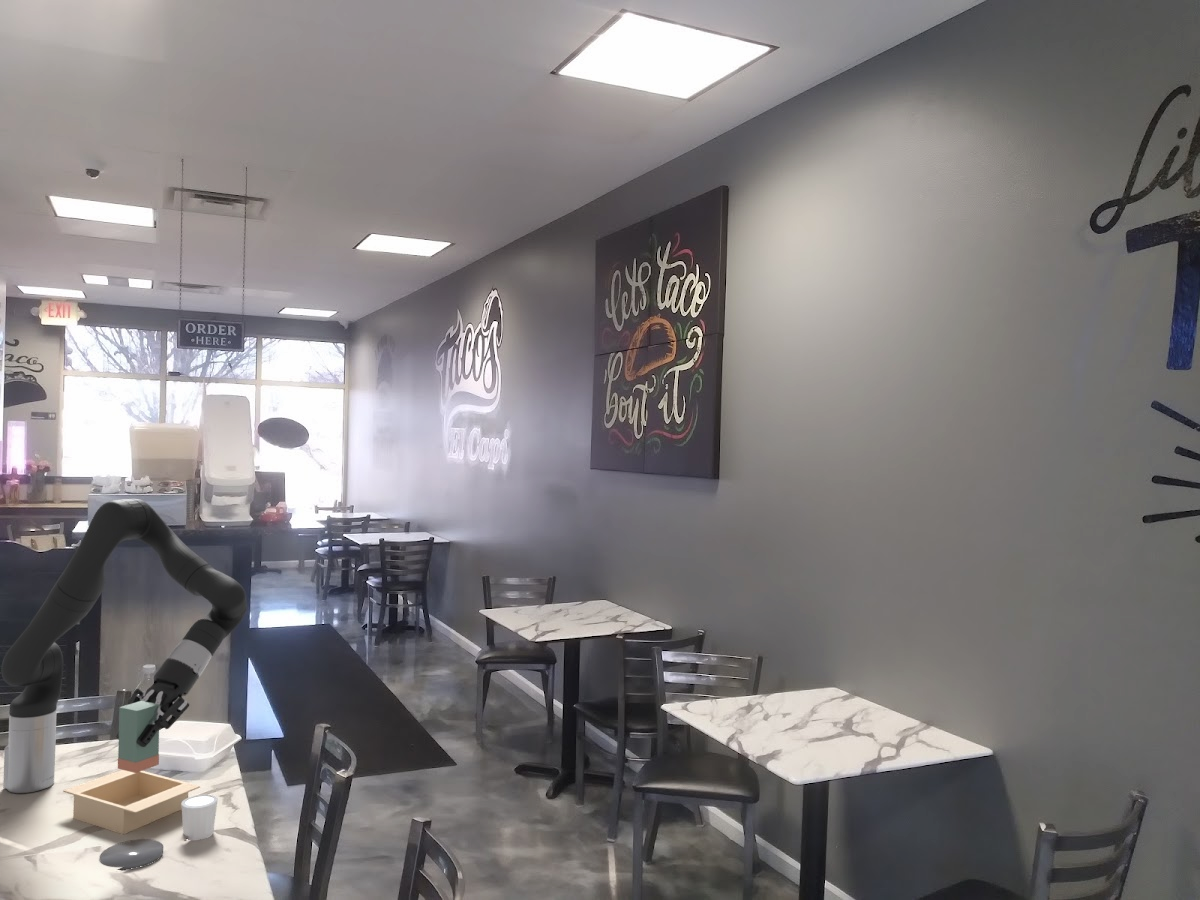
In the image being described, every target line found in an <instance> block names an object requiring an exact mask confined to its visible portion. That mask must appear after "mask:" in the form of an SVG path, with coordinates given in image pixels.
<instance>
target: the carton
mask: <svg viewBox="0 0 1200 900" xmlns="http://www.w3.org/2000/svg"><path fill="white" fill-rule="evenodd" d="M199 788H201V786H200V785H197V784H193V783H190V782H187V781H182V780H179V779H176V778H171V777H167V776H164V775H160V774H156V773H153V772H149V771H145V770H143V771H140V772H137V773H133V772H129V771H125V770H121V769H119V770H118V771H115V772H112V773H108V774H106V775H103V776H100V777H97V778H96V779H92V780H89V781H86V782H84V783H81V784H78V785H77V784H76V785H75V786H72V787H69V788H66V789H63V791H62V792H63V793H66V794H68V795H73V810H72V811H73V812H72V813H73V814H72V815H73V816H72V819H73V820H74V819H75V820H77V821H80V822H83V823H86V824H90V825H93V826H96V827H99V828H102V829H104V830H109V831H111V832H115V833H118V834H121V835H125V834H127V833H130V832H132V831H135V830H136V829H139V828H141V827H144V826H147V825H149V824H151V823H153V822H156V821H158V820H160V819H162V818H165V817H168V816H170V815H172V814H175V813H176V812H179V811H182V807H181V803H182V801H184V800H185V799H187V798H189V793H190V792H192V791H195V790H197V789H199Z"/></svg>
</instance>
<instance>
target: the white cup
mask: <svg viewBox="0 0 1200 900" xmlns="http://www.w3.org/2000/svg"><path fill="white" fill-rule="evenodd" d="M181 807H182V810H181V819H182V821H181V822H182V833H183V835H184V836H186V837H185V838H186V839H185V840H187V839H188V840H187V841H200V839H201V840H205V839H207V838H209V837H211V836H212V835H213V833H214V829H215V823H216V822H215V821H216V815H217V814H216V813H217V807H218V797H217V796H216V795H214V794H213V795H212V794H198V795H193V796H190V797H189V796H188V798H187V799H185V800H184V801H182V803H181Z"/></svg>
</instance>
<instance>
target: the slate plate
mask: <svg viewBox="0 0 1200 900" xmlns="http://www.w3.org/2000/svg"><path fill="white" fill-rule="evenodd" d="M162 854H164V844H163V843H162V842H161V841H159V840H155V839H151V838H150V839H148V838H147V839H146V838H139V839H132V840H131V839H130V840H127V841H123V842H119V843H116V844H113V845H112V846H109V847H107V848H106V849H104V850H103V851H102V852H101V853H100V854H99V861H100V863H101V864H103V865H105V866H109V867H119V868H118V869H117V870H121V871H127V870H126V869H131V868H136V867H140V866H143V867H145V866H144V865H146V866H148V864H149V865H151V864H153V863H155V862H156V861H158V860H159V859H161V857H162V856H163V855H162ZM158 858H159V859H158ZM157 859H158V860H157ZM154 861H155V862H154ZM152 862H153V863H152ZM150 863H151V864H150ZM140 868H141V867H140ZM136 869H137V868H136ZM131 870H132V869H131Z"/></svg>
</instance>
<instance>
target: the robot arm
mask: <svg viewBox="0 0 1200 900" xmlns="http://www.w3.org/2000/svg"><path fill="white" fill-rule="evenodd" d="M135 539H136V540H139V541H141V542H143V543H144V544H146V545H148V546H149V547H150V548H152V549H153V550H154V551H155V552H156V554H157V555H158V556H159V559H160V561H161V564H162V565H163V568H164V569H165V571H166V573H167V574H168V575H169V576H170V578H171V579H173V580H174V581H175V582H176V583H177V584H178V585H180V586H181V587H182V588H183V589H184V590H186V591H187V592H189V593H190V594H191V595H193V596H194V597H195V596H196V597H202V598H204V599H206V600H207V601H208V602H209V603H210V604H211V610H210V611H209V612H208V614H207V615H206V616H205V617H204V618H200V619H198V620H197V621H195V622H194V623H193V624H192V626H191V627H190V628H189V629H188V631H187V632H186V633H185V635H184V636H183V638H182V639H181V641H179V643H178V644H177V645H176V646H175V647H174V648H173V649H172V651H170V653H169V655H168V656H167V658H166V659H165V660H164V662H163V663H162V664H161V666H160V667H159V669H158V670H157V671H156V673H155V674H154V676H153V684H152V685H150V687H148V688H147V689H146V690H141V689H140V688H135V690H134V691H133V693H132V694H131V697H130V699H129V700H128V702H127V703H126V705H129V704H132V703H136V702H139V701H145V702H151V703H155V704H159V705H158V706H157V708H156V709H155V711H154V715H153V717H152V718H151V720H150V725H147V726H146V728H145V729H144V730H143V732H142V733H141V735H140V736H139V737H138V739H137V741H136V743H137V744H139V745H140V746H141V747H146V745H147V744H148V743H149V742H150V741H151V739H152V738H153V737H154V735H155V734H156V732H157V731H159V732H160V731H161V730H162V729H165V730H168V729H170V728H171V727H172V726H173V725H174V724H175V723H176V722H177V720H178V719H179V718H180V717H181V716H182V715H183V714H184V713H185V711H186V710H187V709H188V708H189V707H190V703H189V702H188V701H187V700H186V699H184V698H183V697H186V696H187V695H188V694H189V693H190V691H191V690H192V688H193V687H194V686H195V684H196V682H197V681H198V680H199V678H200V677H201V676H202V674H203V673H204V671H205V669H206V668H207V666H208V665H209V662H210V660H211V659H212V657H213V656H214V655H215V653H216V652H217V650H218V649H219V647H220V646H221V644H222V642H223V641H224V639H226V638H227V637H228V636H229V635H230V634H231V633H232V632H233V630H234V629H236V628H237V627H238V626H239V624H240V623H241V622H242V620H243V619H244V617H245V615H246V613H247V611H248V601H247V593H246V591H245V588H244V587H243V586H242V584H240V583H239V582H238V581H237V580H236V579H234V578H233V577H231V576H229V575H227V574H225V573H224V572H222V571H219V570H217V569H215V568H214V567H213V566H212V565H210V564H209V562H207V561H206V560H205V559H203V558H202V557H201V556H199V555H198V554H196V552H194V551H193V550H192V549H191V548H190V547H189V546H188V545H186V544H185V543H184V542H183V541H182V539H180V538H179V536H178V535H177V534H176V533H175V532H174V531H173V530H172V528H171V527H170V526H169V525H167V523H166V521H164V520H163V519H162V517H161V516H160V515H159V514H158V512H157V511H156V510H155V509H154V507H151V506H150V503H147V502H146V501H145V500H143V499H140V498H122V499H113V500H110V501H107V502H104V503H103V504H102V505H100V506H99V508H98V509H97V510H96V512H95V513H94V515H93V517H92V519H91V521H90V523H89V525H88V527H87V530H86V531H85V533H84V536H83V538H82V540H81V542H80V544H79V546H78V547H77V548H76V551H75V552H74V554H73V556H72V557H71V559H70V561H69V562H68V563H67V566H65V569H64V570H63V572H62V573H61V575H59V577H58V579H56V580H57V581H55V583H54V586H53V587H52V588H51V590H50V592H49V593H48V595H47V597H46V598H45V600H44V602H43V603H42V605H41V606H40V608H39V610H38V611H37V612H36V614H35V615H34V616H33V617H32V619H31V621H30V623H29V624H28V626H26V628H25V629H24V631H22V633H21V634H20V635H19V637H18V638H17V639H16V641H15V642H14V643H13V644H12V645H11V647H10V648H9V649H8V650H7V652H6V653H5V655H4V657H3V660H2V662H1V665H0V666H1V667H0V669H1V670H0V673H1V677H2V679H3V681H4V682H5V683H6V684H7V685H9V686H12V687H16V688H17V687H20V688H21V687H24V690H23V691H22V692H21V693H20V694H19V695H17V696H16V697H14V699H12V701H11V702H10V704H9V711H8V713H9V715H8V718H9V719H8V744H7V745H6V746H5V747H4V750H3V751H4V752H3V755H4V756H3V783H2V785H3V786H2V787H3V789H6V790H7V792H9V793H13V794H14V793H15V794H26V793H33V792H38V791H41V790H45V789H47V788H50V787H51V786H53V785H54V783H55V769H56V767H55V766H56V743H57V742H56V739H57V736H56V735H57V710H58V709H57V707H58V701H59V699H60V698H61V693H62V685H63V684H62V683H63V675H64V674H63V673H64V656H63V651H62V650H61V647H60V646H59V644H58V643H56V641H58V640H59V639H60V638H61V637H62V636H64V635H65V634H66V633H67V632H69V630H71V629H73V627H75V626H76V625H77V624H78V623H79V622H81V621H82V620H83V619H84V618H85V617H86V616H87V615H88V613H89V612H90V611H91V610H92V609H93V607H94V605H95V604H96V602H97V601H98V599H99V597H100V596H101V594H102V593H103V590H104V588H105V583H106V582H105V581H106V573H105V567H106V564H107V561H108V560H109V558H110V557H111V555H112V554H113V551H114V550H115V549H116V548H117V546H118V545H119V544H121V542H123V541H131V540H135ZM158 717H159V719H158ZM116 739H117V741H119V731H118V732H117V734H116Z"/></svg>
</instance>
